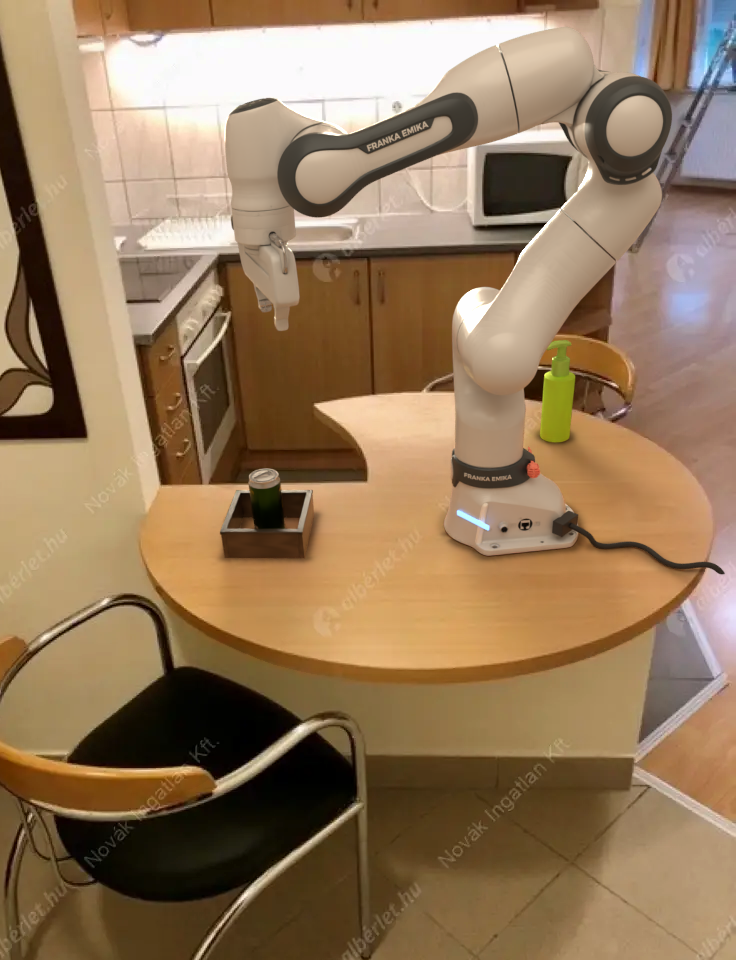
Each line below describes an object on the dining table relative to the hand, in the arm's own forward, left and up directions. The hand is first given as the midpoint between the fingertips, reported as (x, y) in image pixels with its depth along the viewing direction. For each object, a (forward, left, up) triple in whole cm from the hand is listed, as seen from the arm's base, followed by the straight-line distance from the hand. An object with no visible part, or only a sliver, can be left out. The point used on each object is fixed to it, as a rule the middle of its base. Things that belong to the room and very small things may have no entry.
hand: (273, 319), depth 130 cm
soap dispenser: (-48, -35, -38) cm, 70 cm away
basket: (+4, +2, -38) cm, 38 cm away
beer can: (+4, +2, -38) cm, 38 cm away
